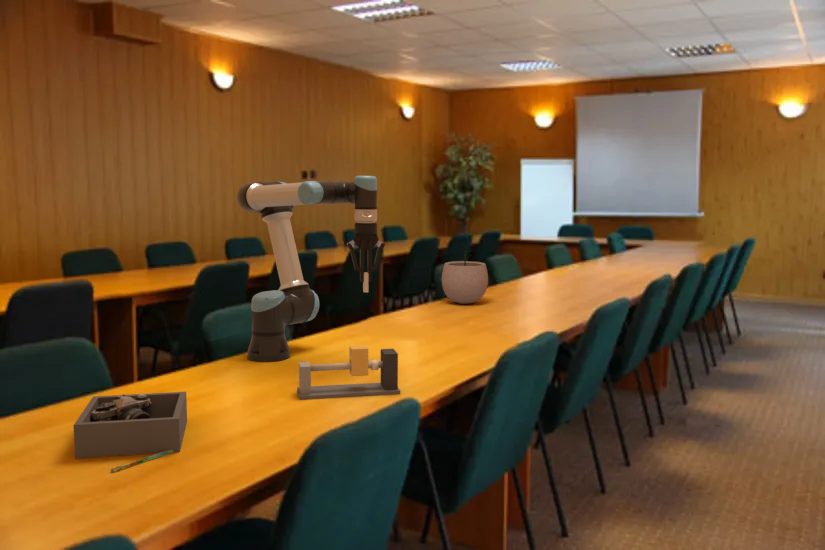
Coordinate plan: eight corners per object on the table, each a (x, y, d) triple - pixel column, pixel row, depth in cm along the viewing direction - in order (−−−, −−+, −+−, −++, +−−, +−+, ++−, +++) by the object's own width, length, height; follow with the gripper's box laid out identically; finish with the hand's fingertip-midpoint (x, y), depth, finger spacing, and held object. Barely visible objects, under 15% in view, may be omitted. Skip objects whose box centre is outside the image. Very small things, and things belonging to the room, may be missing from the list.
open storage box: (75, 458, 172) (73, 425, 171) (94, 426, 194) (93, 396, 193) (180, 451, 177) (178, 418, 176) (187, 420, 199) (186, 391, 198)
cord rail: (299, 399, 219) (299, 359, 217) (297, 390, 228) (296, 351, 227) (400, 393, 225) (400, 354, 224) (393, 384, 235) (394, 347, 233)
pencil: (178, 449, 179) (110, 473, 164) (178, 445, 179) (109, 468, 164) (182, 451, 178) (113, 474, 164) (181, 446, 178) (113, 469, 163)
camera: (112, 450, 178) (110, 409, 176) (88, 441, 184) (86, 401, 182) (169, 432, 190) (167, 394, 189) (144, 424, 196) (143, 387, 195)
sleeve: (351, 376, 224) (351, 349, 223) (349, 372, 229) (349, 345, 227) (368, 375, 225) (368, 348, 224) (365, 371, 230) (365, 345, 229)
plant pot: (473, 308, 373) (474, 248, 369) (432, 304, 386) (433, 246, 382) (495, 302, 393) (496, 245, 389) (455, 298, 406) (456, 242, 402)
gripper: (347, 222, 246) (347, 293, 249) (386, 222, 248) (386, 293, 251) (345, 221, 253) (345, 290, 256) (383, 221, 256) (383, 289, 259)
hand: (365, 291), depth 254 cm, fingers closed
